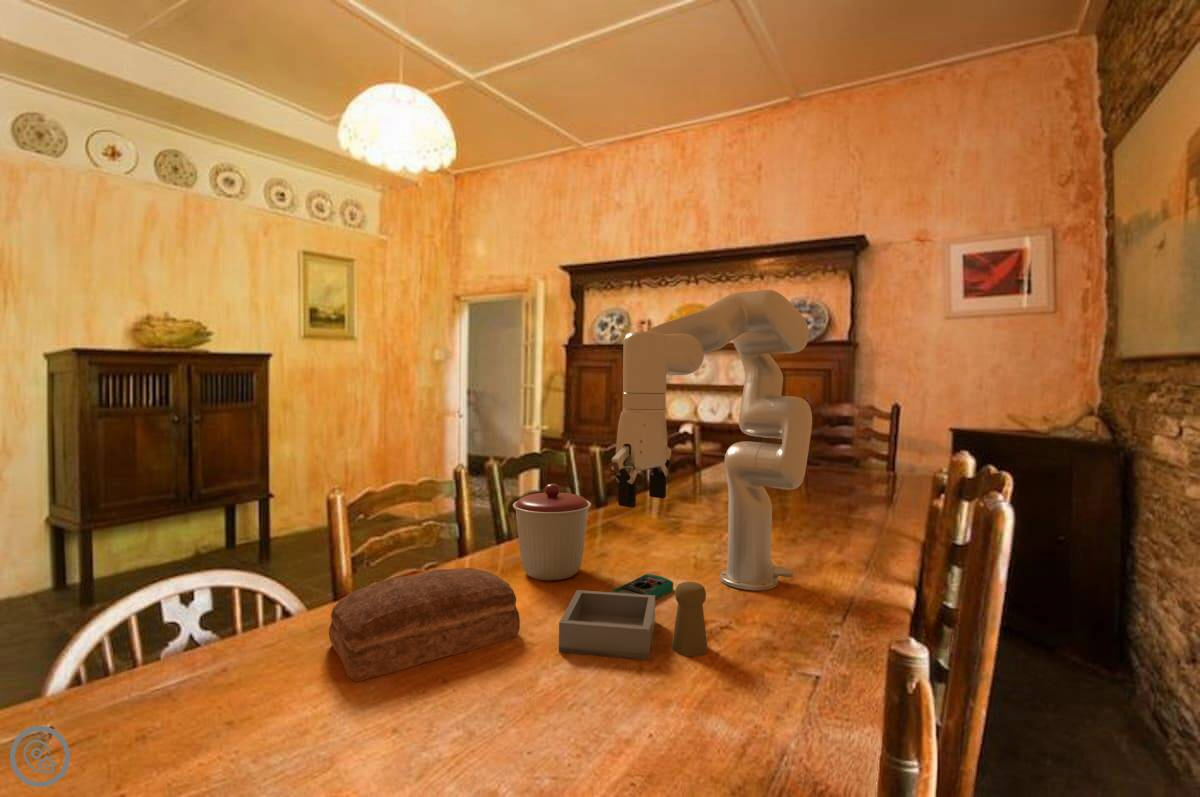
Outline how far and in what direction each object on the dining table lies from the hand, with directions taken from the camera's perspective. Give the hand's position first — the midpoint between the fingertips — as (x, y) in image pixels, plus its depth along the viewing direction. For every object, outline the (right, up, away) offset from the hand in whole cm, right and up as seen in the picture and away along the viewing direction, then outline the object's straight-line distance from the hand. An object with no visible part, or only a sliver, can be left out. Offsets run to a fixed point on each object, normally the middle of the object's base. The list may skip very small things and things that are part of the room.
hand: (642, 501), depth 101 cm
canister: (-19, -23, +34) cm, 45 cm away
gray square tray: (-6, -24, +2) cm, 25 cm away
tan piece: (+8, -25, -3) cm, 26 cm away
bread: (-37, -24, 0) cm, 45 cm away
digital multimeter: (+1, -24, +21) cm, 32 cm away
